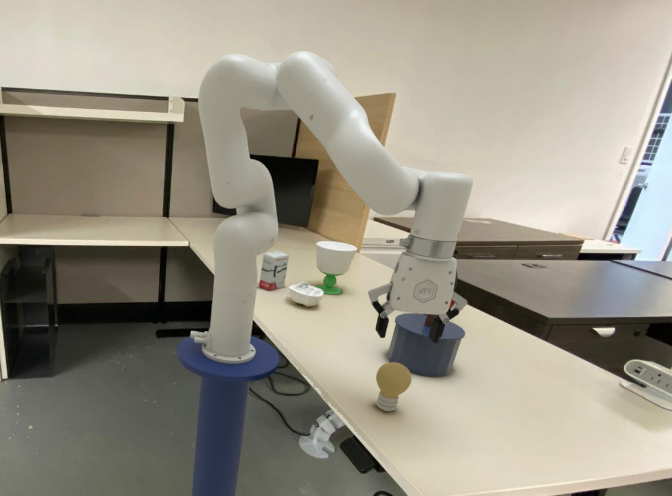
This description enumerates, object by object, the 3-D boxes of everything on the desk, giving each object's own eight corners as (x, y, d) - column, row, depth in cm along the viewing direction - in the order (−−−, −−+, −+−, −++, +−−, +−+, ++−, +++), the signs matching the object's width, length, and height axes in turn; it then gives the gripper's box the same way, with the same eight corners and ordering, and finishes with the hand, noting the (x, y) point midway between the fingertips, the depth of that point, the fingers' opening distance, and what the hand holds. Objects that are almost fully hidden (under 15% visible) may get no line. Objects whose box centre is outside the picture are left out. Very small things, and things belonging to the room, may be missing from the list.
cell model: (300, 312, 142) (304, 291, 139) (281, 298, 152) (284, 278, 149) (328, 310, 145) (332, 289, 142) (307, 297, 155) (311, 277, 152)
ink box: (269, 291, 158) (274, 256, 153) (258, 286, 161) (262, 253, 157) (284, 286, 164) (289, 253, 159) (273, 283, 167) (278, 250, 162)
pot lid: (404, 339, 105) (409, 320, 103) (387, 314, 119) (391, 297, 117) (475, 346, 104) (481, 328, 102) (449, 321, 118) (454, 304, 116)
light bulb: (390, 398, 98) (402, 356, 94) (408, 415, 92) (421, 371, 88) (363, 400, 96) (373, 357, 92) (379, 417, 91) (392, 372, 87)
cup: (356, 293, 163) (365, 249, 156) (329, 298, 156) (338, 252, 149) (326, 282, 173) (334, 239, 166) (300, 286, 166) (307, 242, 159)
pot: (396, 372, 109) (406, 336, 105) (381, 346, 122) (390, 313, 118) (460, 380, 108) (472, 343, 104) (438, 352, 122) (448, 319, 118)
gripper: (384, 248, 78) (364, 341, 85) (491, 257, 77) (461, 350, 84) (374, 239, 85) (356, 326, 92) (472, 247, 83) (446, 334, 91)
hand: (406, 337), depth 88 cm, fingers open, 9 cm apart
